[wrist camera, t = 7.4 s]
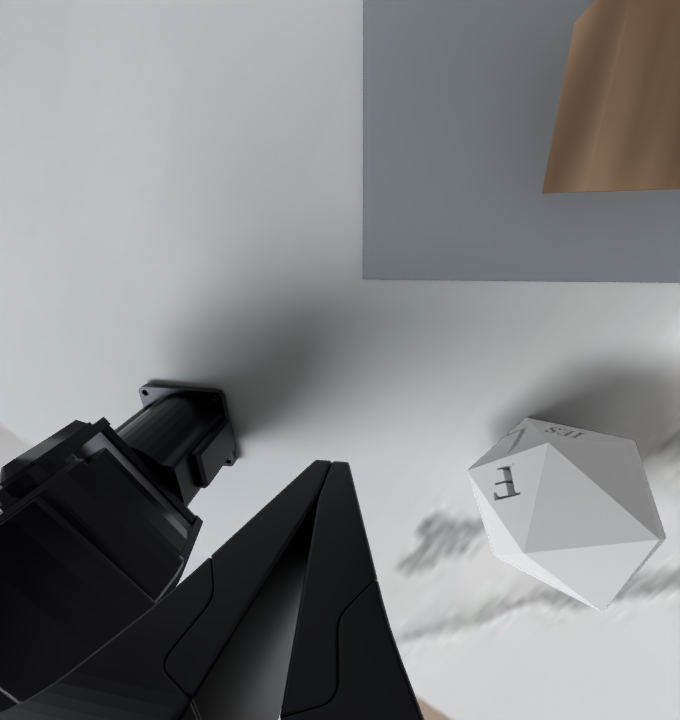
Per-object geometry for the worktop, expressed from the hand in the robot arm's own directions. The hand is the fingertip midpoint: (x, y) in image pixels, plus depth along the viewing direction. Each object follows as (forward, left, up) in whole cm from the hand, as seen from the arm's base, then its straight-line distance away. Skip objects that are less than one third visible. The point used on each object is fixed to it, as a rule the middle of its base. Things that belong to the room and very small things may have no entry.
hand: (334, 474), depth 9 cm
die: (+10, -9, -13) cm, 19 cm away
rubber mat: (+8, +9, -13) cm, 18 cm away
